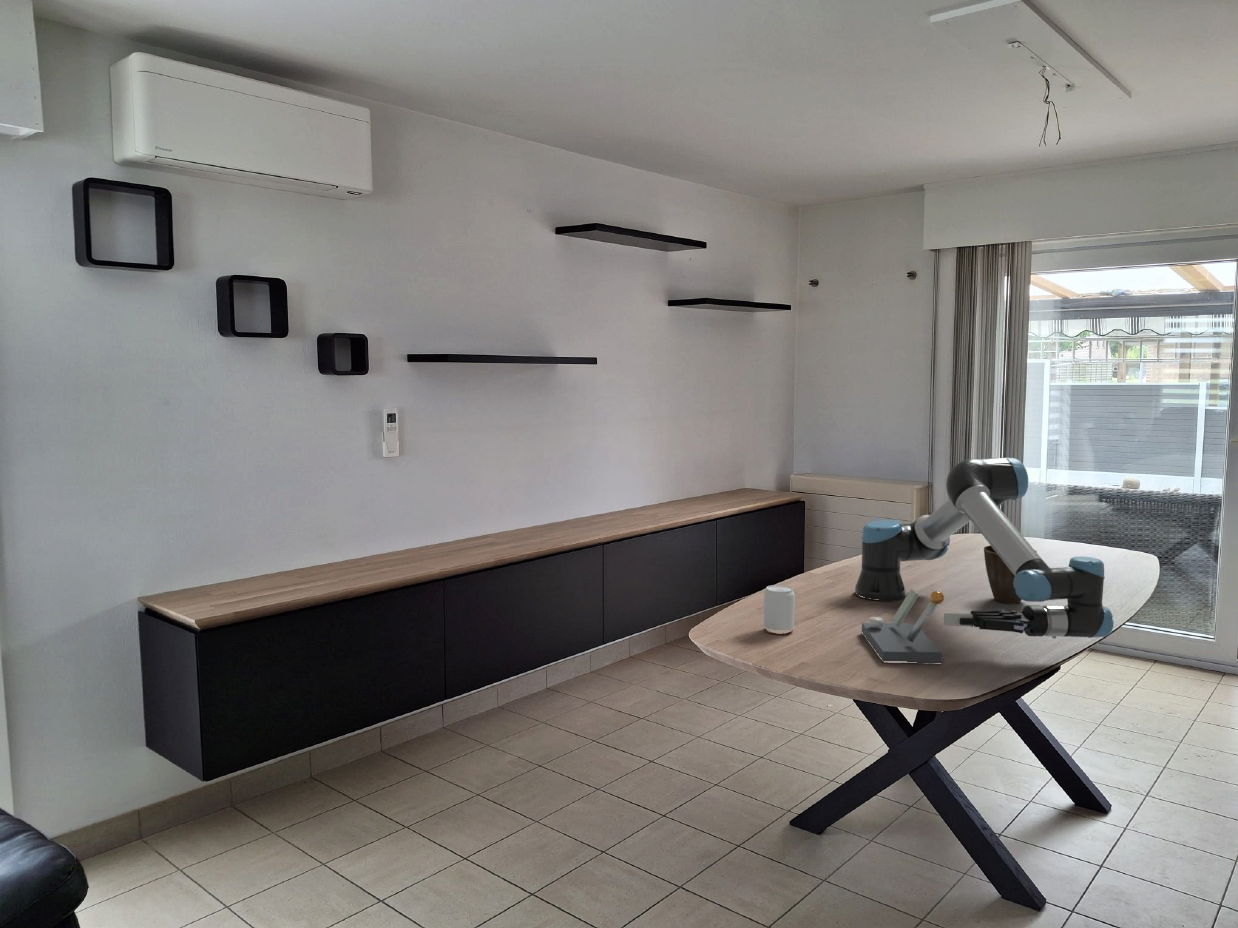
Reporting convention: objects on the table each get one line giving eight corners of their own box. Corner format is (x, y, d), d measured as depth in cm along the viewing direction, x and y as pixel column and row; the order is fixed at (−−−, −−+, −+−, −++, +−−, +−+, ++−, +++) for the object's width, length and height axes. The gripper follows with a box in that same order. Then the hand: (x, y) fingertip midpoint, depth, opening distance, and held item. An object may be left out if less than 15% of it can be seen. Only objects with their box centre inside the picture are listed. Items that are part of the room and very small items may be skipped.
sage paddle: (891, 620, 233) (911, 588, 232) (894, 622, 233) (914, 590, 232) (895, 625, 228) (916, 592, 227) (898, 627, 228) (919, 594, 227)
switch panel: (861, 633, 237) (861, 622, 236) (914, 634, 236) (914, 623, 235) (883, 663, 213) (883, 651, 212) (941, 664, 212) (942, 652, 212)
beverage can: (789, 626, 243) (790, 584, 241) (796, 635, 235) (797, 591, 233) (761, 626, 242) (761, 584, 241) (766, 635, 234) (767, 592, 233)
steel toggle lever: (902, 634, 218) (933, 587, 217) (913, 641, 218) (944, 593, 217) (905, 638, 215) (937, 590, 213) (916, 645, 215) (948, 596, 213)
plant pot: (1040, 608, 261) (1042, 555, 259) (986, 605, 264) (989, 553, 262) (1027, 595, 275) (1029, 545, 274) (977, 593, 278) (979, 543, 277)
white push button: (867, 623, 233) (867, 616, 233) (880, 623, 233) (881, 616, 232) (870, 627, 229) (870, 620, 229) (884, 627, 229) (884, 620, 229)
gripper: (1053, 644, 208) (952, 642, 209) (1031, 627, 221) (936, 626, 222) (1055, 613, 207) (954, 611, 208) (1032, 598, 220) (937, 597, 221)
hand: (944, 619), depth 215 cm, fingers closed
